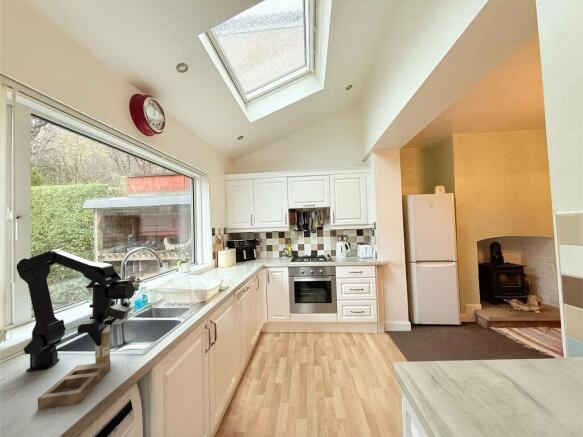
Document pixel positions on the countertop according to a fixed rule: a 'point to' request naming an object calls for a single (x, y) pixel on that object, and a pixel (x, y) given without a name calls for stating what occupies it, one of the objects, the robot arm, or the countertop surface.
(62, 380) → the socket block
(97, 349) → the sprinkles bottle
